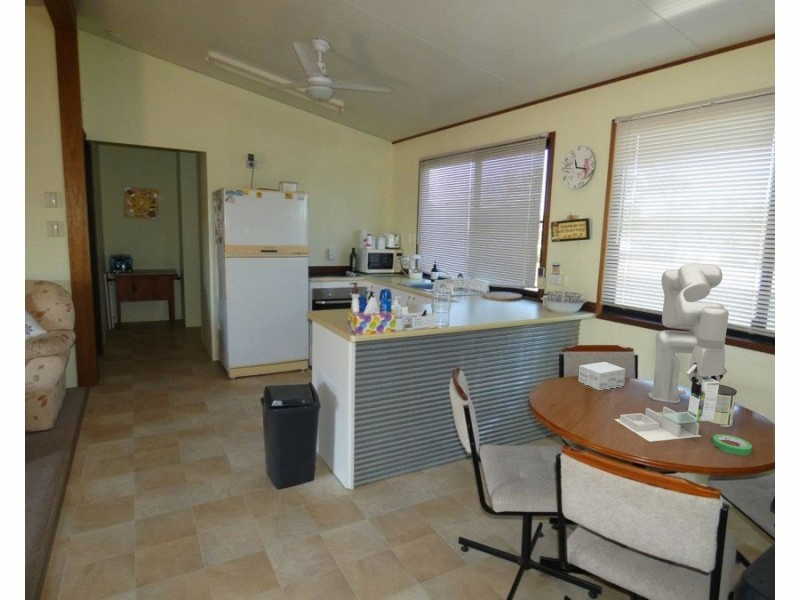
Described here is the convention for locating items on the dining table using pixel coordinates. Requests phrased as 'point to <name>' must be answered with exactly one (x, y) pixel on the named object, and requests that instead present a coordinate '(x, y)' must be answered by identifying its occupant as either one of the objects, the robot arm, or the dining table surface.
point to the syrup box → (704, 400)
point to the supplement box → (601, 375)
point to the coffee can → (724, 406)
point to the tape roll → (742, 450)
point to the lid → (679, 417)
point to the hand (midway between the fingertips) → (703, 392)
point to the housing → (658, 426)
